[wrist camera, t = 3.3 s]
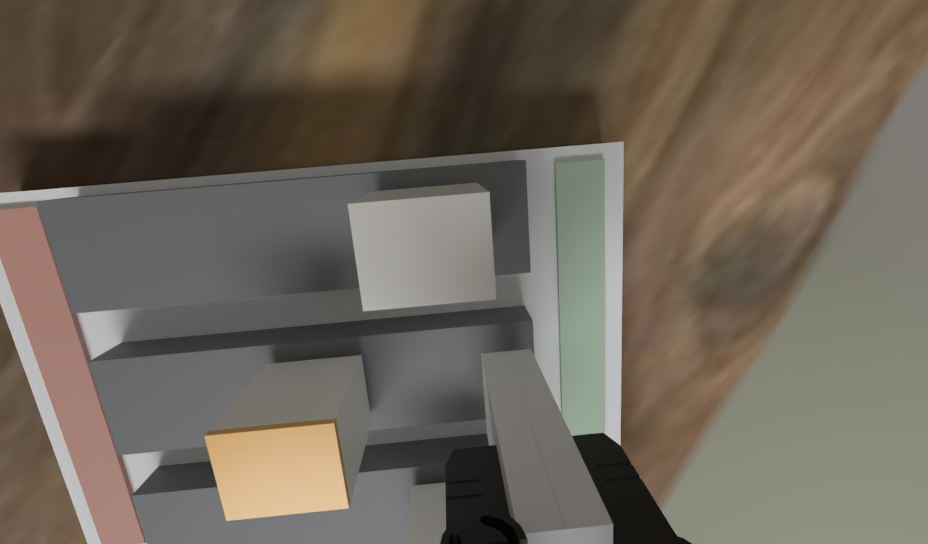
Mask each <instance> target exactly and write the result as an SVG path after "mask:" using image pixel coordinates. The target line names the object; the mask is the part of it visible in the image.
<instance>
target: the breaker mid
mask: <svg viewBox="0 0 928 544" xmlns="http://www.w3.org/2000/svg"><path fill="white" fill-rule="evenodd" d="M371 423H372V421H371V414H370V408H369V401H368V394H367V388H366V381H365V375H364V368H363V361H362V355H356V356H345V357H335V358H324V359H314V360H303V361H292V362H282V363H271V364H265V365H264V366H263V367H262V368H261V370H260V371H259V372H258V373H257V374H256V375H255V377H254V378H253V379H252V380H251V381H250V383H249V384H248V385H247V386H246V387H245V388H244V390H243V391H242V392H241V393H240V394H239V395H238V397H237V398H236V399H235V400H234V401H233V403H232V404H231V405H230V406H229V407H228V408H227V410H226V411H225V412H224V413H223V414H222V415H221V417H220V418H219V419H218V420H217V421H216V423H215V424H214V425H213V426H212V427H211V428H210V430H209V431H208V432H207V433H206V434H205V435H204V437H205V441H206V445H207V449H208V453H209V457H210V460H211V464H212V468H213V472H214V476H215V480H216V483H217V487H218V491H219V495H220V499H221V502H222V506H223V510H224V514H225V518H226V521H232V520H242V519H252V518H261V517H271V516H281V515H290V514H300V513H310V512H319V511H329V510H339V509H348V508H349V506H350V503H351V499H352V495H353V491H354V487H355V484H356V480H357V476H358V472H359V468H360V465H361V461H362V457H363V453H364V449H365V446H366V442H367V438H368V434H369V430H370V427H371Z"/></svg>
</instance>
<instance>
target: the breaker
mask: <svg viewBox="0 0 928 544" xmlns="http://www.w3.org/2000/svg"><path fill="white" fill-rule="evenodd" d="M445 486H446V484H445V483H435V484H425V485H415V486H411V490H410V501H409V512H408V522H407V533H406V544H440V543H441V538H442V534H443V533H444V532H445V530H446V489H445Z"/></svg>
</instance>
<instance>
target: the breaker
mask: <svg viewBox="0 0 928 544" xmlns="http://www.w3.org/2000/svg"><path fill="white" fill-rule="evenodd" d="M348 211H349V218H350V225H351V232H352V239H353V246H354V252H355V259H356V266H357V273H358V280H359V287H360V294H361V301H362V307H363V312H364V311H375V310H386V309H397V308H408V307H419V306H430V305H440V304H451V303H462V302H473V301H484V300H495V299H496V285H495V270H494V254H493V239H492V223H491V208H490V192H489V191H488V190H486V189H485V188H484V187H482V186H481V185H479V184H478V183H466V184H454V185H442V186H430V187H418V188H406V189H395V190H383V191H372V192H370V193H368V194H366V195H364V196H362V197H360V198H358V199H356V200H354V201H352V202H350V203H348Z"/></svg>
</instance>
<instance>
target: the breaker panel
mask: <svg viewBox="0 0 928 544" xmlns="http://www.w3.org/2000/svg"><path fill="white" fill-rule="evenodd" d="M623 172H624V142H612V143H600V144H588V145H576V146H564V147H552V148H540V149H527V150H515V151H503V152H491V153H479V154H467V155H455V156H443V157H431V158H419V159H407V160H394V161H382V162H370V163H358V164H346V165H334V166H322V167H310V168H298V169H286V170H273V171H261V172H249V173H237V174H225V175H213V176H201V177H189V178H177V179H165V180H152V181H140V182H128V183H116V184H104V185H92V186H80V187H68V188H56V189H44V190H32V191H19V192H7V193H0V304H1V307H2V309H3V312H4V315H5V318H6V320H7V323H8V326H9V329H10V331H11V334H12V337H13V340H14V342H15V345H16V348H17V351H18V353H19V356H20V359H21V362H22V364H23V367H24V370H25V373H26V375H27V378H28V381H29V384H30V386H31V389H32V392H33V395H34V398H35V400H36V403H37V406H38V409H39V411H40V414H41V417H42V420H43V422H44V425H45V428H46V431H47V433H48V436H49V439H50V442H51V444H52V447H53V450H54V453H55V455H56V458H57V461H58V464H59V466H60V469H61V472H62V475H63V477H64V480H65V483H66V486H67V488H68V491H69V494H70V497H71V499H72V502H73V505H74V508H75V510H76V513H77V516H78V519H79V521H80V524H81V527H82V530H83V532H84V535H85V538H86V541H87V543H88V544H406V533H407V522H408V512H409V501H410V490H411V486H415V485H425V484H435V483H445V464H446V463H447V461H448V459H449V457H450V455H451V453H452V452H453V450H454V449H461V448H471V447H481V446H489V443H488V437H487V427H486V413H485V400H484V387H483V373H482V360H481V354H482V353H493V352H504V351H514V350H525V349H531V350H532V352H533V354H534V357H535V359H536V361H537V363H538V365H539V367H540V369H541V371H542V374H543V376H544V378H545V380H546V382H547V384H548V386H549V388H550V391H551V393H552V395H553V397H554V399H555V401H556V403H557V405H558V408H559V410H560V412H561V414H562V416H563V418H564V420H565V423H566V425H567V427H568V429H569V431H570V433H571V435H572V436H575V435H585V434H595V433H604V434H606V435H607V436H608V437H610V438H611V439H612V440H614V441H615V442H616V443H618V444H619V445H620V446H621V355H622V263H623ZM466 183H478V184H479V185H481V186H482V187H484V188H485V189H486V190H488V191H489V192H490V208H491V223H492V239H493V254H494V270H495V285H496V299H495V300H484V301H473V302H462V303H451V304H440V305H430V306H419V307H408V308H397V309H386V310H375V311H364V312H363V307H362V301H361V294H360V287H359V280H358V273H357V266H356V259H355V252H354V246H353V239H352V232H351V225H350V218H349V211H348V203H350V202H352V201H354V200H356V199H358V198H360V197H362V196H364V195H366V194H368V193H370V192H372V191H383V190H395V189H406V188H418V187H430V186H442V185H454V184H466ZM356 355H362V361H363V368H364V375H365V381H366V388H367V394H368V401H369V408H370V414H371V421H372V423H371V427H370V430H369V434H368V438H367V442H366V446H365V449H364V453H363V457H362V461H361V465H360V468H359V472H358V476H357V480H356V484H355V487H354V491H353V495H352V499H351V503H350V506H349V508H348V509H339V510H329V511H319V512H310V513H300V514H290V515H281V516H271V517H261V518H252V519H242V520H232V521H226V518H225V514H224V510H223V506H222V502H221V499H220V495H219V491H218V487H217V483H216V480H215V476H214V472H213V468H212V464H211V460H210V457H209V453H208V449H207V445H206V441H205V437H204V435H205V434H206V433H207V432H208V431H209V430H210V428H211V427H212V426H213V425H214V424H215V423H216V421H217V420H218V419H219V418H220V417H221V415H222V414H223V413H224V412H225V411H226V410H227V408H228V407H229V406H230V405H231V404H232V403H233V401H234V400H235V399H236V398H237V397H238V395H239V394H240V393H241V392H242V391H243V390H244V388H245V387H246V386H247V385H248V384H249V383H250V381H251V380H252V379H253V378H254V377H255V375H256V374H257V373H258V372H259V371H260V370H261V368H262V367H263V366H264V365H265V364H271V363H282V362H292V361H303V360H314V359H324V358H335V357H345V356H356Z"/></svg>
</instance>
